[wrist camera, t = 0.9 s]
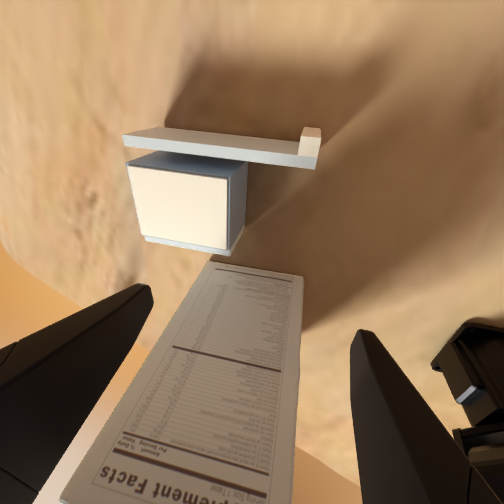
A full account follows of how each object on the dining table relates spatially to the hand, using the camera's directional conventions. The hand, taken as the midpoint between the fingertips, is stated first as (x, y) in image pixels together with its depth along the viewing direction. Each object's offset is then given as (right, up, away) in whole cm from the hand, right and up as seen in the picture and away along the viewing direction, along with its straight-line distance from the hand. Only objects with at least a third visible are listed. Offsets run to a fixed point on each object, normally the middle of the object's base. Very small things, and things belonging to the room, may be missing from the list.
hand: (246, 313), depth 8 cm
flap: (-1, +10, +8) cm, 13 cm away
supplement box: (0, -3, +17) cm, 17 cm away
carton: (-3, +7, +11) cm, 14 cm away
